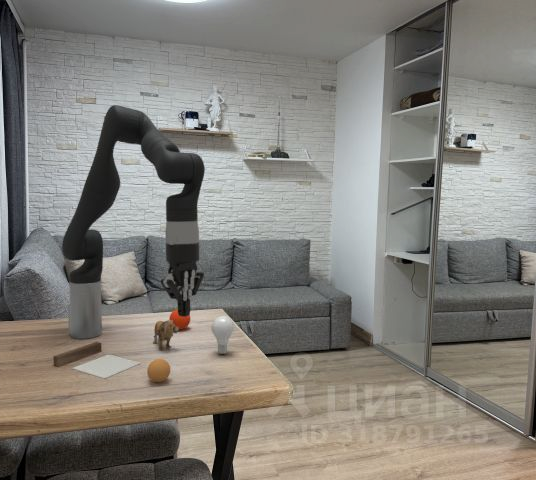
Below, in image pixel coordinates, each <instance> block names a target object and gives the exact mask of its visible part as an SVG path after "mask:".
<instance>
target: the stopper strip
mask: <svg viewBox="0 0 536 480" xmlns="http://www.w3.org/2000/svg"><path fill="white" fill-rule="evenodd" d="M101 352H102V342H98V341H95V342H91V343H89V344H86V345H83V346H80V347H76V348H74V349H70V350H68V351H64V352H62V353H58V354H56V355H53V366H54V367H56V368H57V367H58V368H59V367H63V366H66V365H68V364H70V363H73V362H76V361H79V360H81V359H85V358H87V357H90V356H93V355H96V354H98V353H101Z"/></svg>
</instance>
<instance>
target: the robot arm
mask: <svg viewBox="0 0 536 480" xmlns="http://www.w3.org/2000/svg"><path fill="white" fill-rule="evenodd" d="M102 123H103V124H102V127H101V131H100V134H99V140H98V143H97V147H96V152H95V154H94V157H93V160H92V162H91V163H92V164H91V166H90V169H89V171H88V174H87V177H86V179H85V182H84V185H83V188H82V191H81V195H80V198H79V201H78V204H77V207H76V209H75V211H74V214H73V216H72V218H71V220H70V222H69V224H68V227H67V229H66V231H65V233H64V235H63V239H62V245H61V250H62V254H63V256H64V258H65V259H67V260H69V261H82V260H83V263H82V264H81V265H80V266H79V267H78V268H76V269H74V270H72V271H71V272H70V273H69V275H68V276H69V277H68V280H69V281H68V282H69V285H68V286H69V304H68V305H67V306H68V307H67V309H68V310H67V311H68V312H67V315H68V320H67V321H68V335H70V336H71V338H73V339H78V340H79V339H80V340H81V339H83V340H84V339H85V340H86V339H93V338H97V337H99V336H101V335H102V333H103V323H102V319H103V315H102V314H103V313H102V309H103V308H102V274H103V269H104V268H103V267H104V266H103V265H104V264H103V263H104V262H103V260H104V241H103V237H102V234H101V232H100V231H99V230H97V229H95V228H94V229H93V228H91V226H92V225H93V224H94V223H96V222H97V221H98V220H99V219H100V218H101V217H102V216H104V214H106V213H107V212H108V211H109V210H110V209H111V208H112V207H113V205H114V203H115V201H116V199H117V196H118V193H119V191H120V188H121V178H120V175H119V174H120V173H119V171H118V168H117V165H116V163H115V158H114V152H115V151H114V150H115V146H116V143H117V142H119V143H120V142H121V143H124V144H129V145H138V146H140V150H141V153H142V154H143V156H144V157H145V158H146V160H148V161H149V163H151V164H152V165H153V167H154V169H155V171H156V175H157V177H158V179H159V180H160V181H162V182H164V183H166V184H170V185H171V184H172V185H173V184H174V185H175V184H179V185H183V187H182V190H181V191H180V192H179V193H175V194H172V195H170V196H169V195H168V196H167V198H166V201H165V220H166V222H165V223H166V224H165V235H164V236H165V260H166V262H167V263H168V264H169V266H168V270H167V274H168V275H167V276H166V278H161V280H160V284H161V285H162V288H164V291H165V292H166V293H167V294H168V296H169V298H170V299H174V300H176V302H177V308H178V314H179V316H182V317H186V316H189V315H191V300H192V297H193V296H196V295H197V294H198V291H199V288H200V286H201V284H202V282H203V278H204V277H205V274H204V272H200V271H199V270H198V265H197V262H198V261H200V229H199V222H198V218H199V217H198V202H199V197H200V193H201V188H202V184H203V181H204V178H205V173H206V172H205V169H206V168H205V167H206V166H205V163H204V160H203V159H202V157H201V155H199V154H197V153H194V152H183V151H181V150H180V148H179V146H177V145H176V144H175V143H174V142H173V141H171V140H170V139H168V137H166V136H165V135H163V134H162V133H161V132H160V130H158V128H157V127H156V125H155V124H154V123H153V121H152V120H151V118H150V117H149V116H148V115H147V114H146V113H144V112H143V111H140V110H138V109H134V108H130V107H126V106H122V105H118V104H114V105H111V106H110V107H109V108H108V110H107V111H106V112H105V116H104V120H103V122H102ZM90 228H91V229H90Z"/></svg>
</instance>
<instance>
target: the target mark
mask: <svg viewBox="0 0 536 480" xmlns="http://www.w3.org/2000/svg"><path fill="white" fill-rule="evenodd" d="M138 364H139V365H141V362H138V361H135V360H131V359H130V360H129V359H127V358H124V357H120V356H116V355H112V354H106V355H103V356H101V357H99V358H96V359H92V360H91V361H87V362H85V363H83V364H80V365H77V366H74V367H72V368H71V369H72V370H75V371H78V372H81V373H84V374H88V375H90V376H94V377H97V378H99V379H104V380H106V379H108V378H111V377H113V376H116V375H118V374H121V373H122V372H124V371H127V370H129V369H132V368H134V367H136V366H139V365H138Z"/></svg>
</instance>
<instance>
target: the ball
mask: <svg viewBox="0 0 536 480" xmlns="http://www.w3.org/2000/svg"><path fill="white" fill-rule="evenodd" d="M146 373H147V376H148V379H150V380H151V381H152V382H154V383H162V382H164V381H165V380H167V379H168V378H169V376H170V375H171V366H170V364H169V362H168V361H167V360H165V359H163V358H156V359H154V360H152V361H150V362H149V364H148V366H147V369H146Z"/></svg>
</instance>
